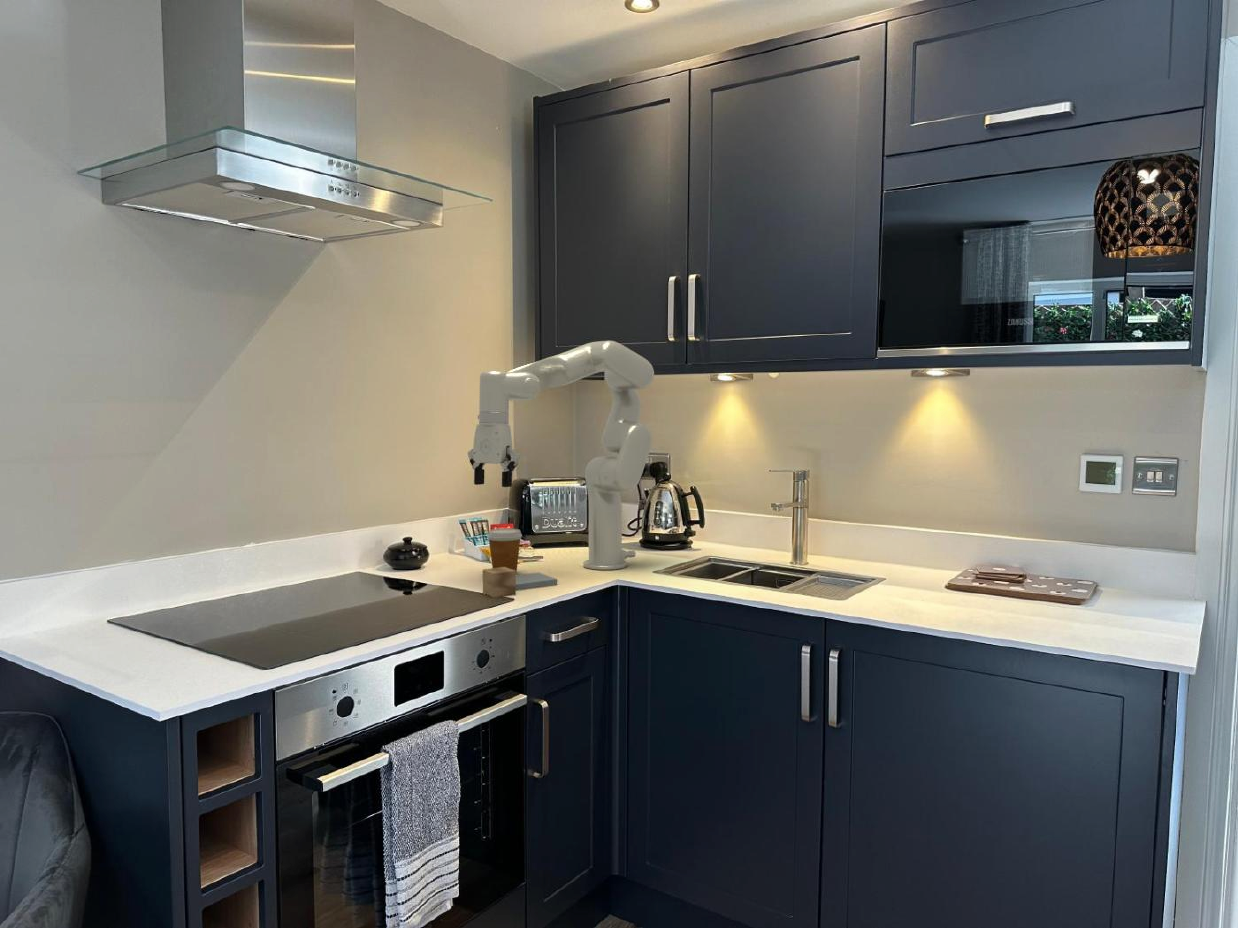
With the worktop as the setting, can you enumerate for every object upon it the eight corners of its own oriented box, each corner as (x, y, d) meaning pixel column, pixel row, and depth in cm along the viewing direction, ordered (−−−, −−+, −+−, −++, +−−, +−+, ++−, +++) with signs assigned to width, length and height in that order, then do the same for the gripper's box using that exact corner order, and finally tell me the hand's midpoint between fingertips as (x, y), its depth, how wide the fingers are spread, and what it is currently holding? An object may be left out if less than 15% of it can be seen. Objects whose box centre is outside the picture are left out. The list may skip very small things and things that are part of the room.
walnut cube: (504, 590, 210) (504, 566, 209) (515, 594, 205) (515, 570, 204) (482, 593, 206) (482, 569, 206) (493, 598, 201) (493, 573, 201)
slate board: (538, 578, 224) (538, 572, 224) (557, 584, 216) (557, 579, 216) (497, 583, 217) (497, 577, 217) (515, 590, 209) (515, 584, 209)
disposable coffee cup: (480, 573, 230) (480, 530, 229) (509, 569, 236) (509, 527, 235) (499, 579, 223) (499, 534, 222) (529, 574, 229) (528, 531, 228)
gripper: (459, 418, 217) (458, 484, 218) (509, 419, 207) (508, 488, 208) (479, 419, 223) (478, 482, 224) (529, 420, 213) (527, 487, 214)
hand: (492, 485), depth 216 cm, fingers open, 9 cm apart
